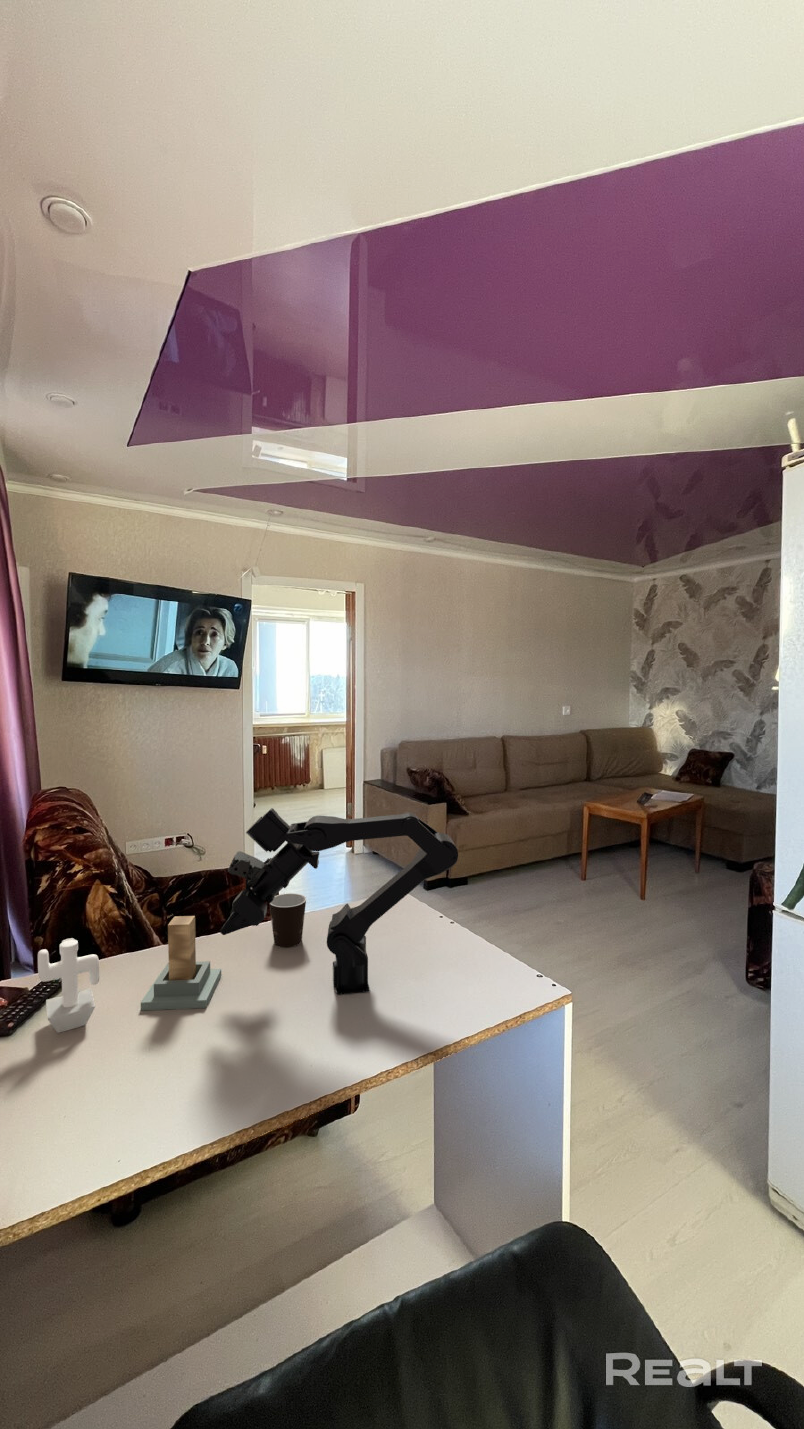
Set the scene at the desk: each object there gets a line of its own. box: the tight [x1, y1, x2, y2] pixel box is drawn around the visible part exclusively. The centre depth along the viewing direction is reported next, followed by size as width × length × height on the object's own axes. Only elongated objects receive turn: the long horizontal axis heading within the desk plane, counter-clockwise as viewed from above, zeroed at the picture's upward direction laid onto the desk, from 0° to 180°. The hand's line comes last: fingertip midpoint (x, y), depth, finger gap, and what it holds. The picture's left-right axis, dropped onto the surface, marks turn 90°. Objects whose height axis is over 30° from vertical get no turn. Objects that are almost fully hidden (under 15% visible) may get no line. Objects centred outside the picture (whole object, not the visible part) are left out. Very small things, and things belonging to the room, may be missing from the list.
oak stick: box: [167, 915, 197, 980], centre depth 113 cm, size 4×4×13 cm
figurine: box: [37, 937, 101, 1034], centre depth 103 cm, size 7×9×15 cm
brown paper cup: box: [268, 893, 307, 949], centre depth 137 cm, size 12×9×10 cm
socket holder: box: [140, 960, 222, 1011], centre depth 113 cm, size 12×12×4 cm
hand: (227, 923), depth 114 cm, fingers open, 9 cm apart
